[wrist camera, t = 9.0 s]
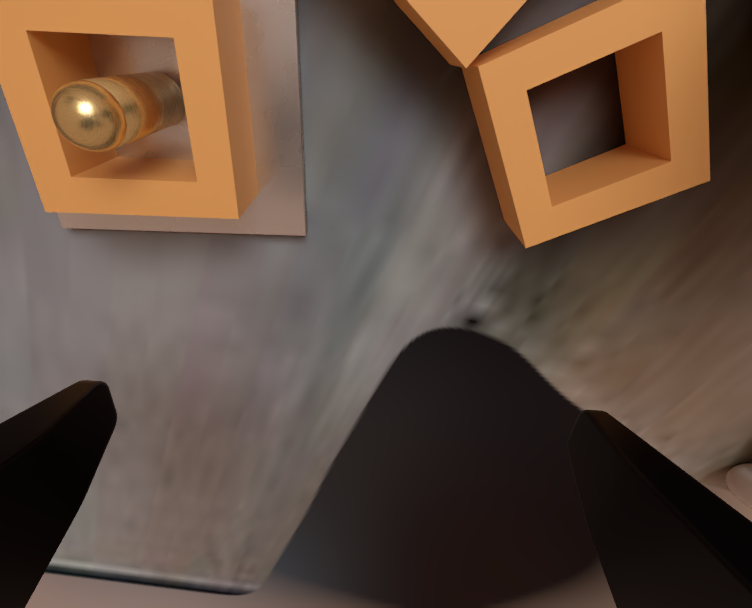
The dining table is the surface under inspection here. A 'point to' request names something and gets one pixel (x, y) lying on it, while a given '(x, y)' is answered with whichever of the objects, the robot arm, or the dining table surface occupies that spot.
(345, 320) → the dining table surface
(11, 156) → the dining table surface
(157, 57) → the plate with brass peg
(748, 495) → the knot
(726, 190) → the dining table surface
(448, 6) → the chain link
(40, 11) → the end link
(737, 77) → the dining table surface
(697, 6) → the chain link
